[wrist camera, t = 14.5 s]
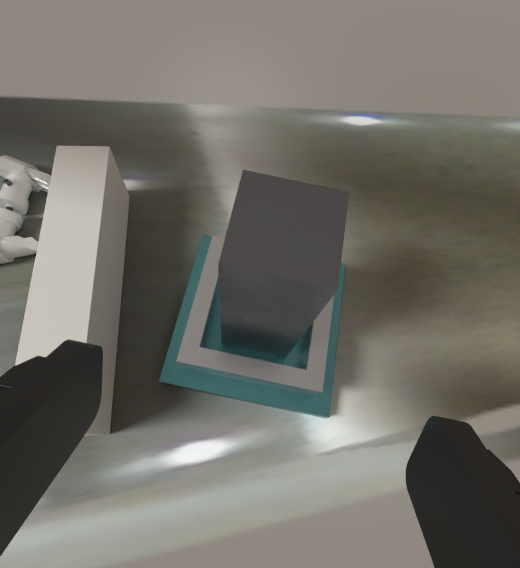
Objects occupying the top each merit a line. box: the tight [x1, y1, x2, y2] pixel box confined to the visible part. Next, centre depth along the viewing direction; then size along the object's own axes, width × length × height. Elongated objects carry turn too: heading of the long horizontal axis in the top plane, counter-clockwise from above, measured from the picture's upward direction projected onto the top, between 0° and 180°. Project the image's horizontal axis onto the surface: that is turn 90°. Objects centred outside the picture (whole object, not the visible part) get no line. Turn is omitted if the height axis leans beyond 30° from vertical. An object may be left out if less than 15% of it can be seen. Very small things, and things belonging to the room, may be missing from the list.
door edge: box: [15, 146, 130, 436], centre depth 21 cm, size 16×3×5 cm, turn 4°
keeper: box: [159, 235, 345, 418], centre depth 22 cm, size 10×10×3 cm
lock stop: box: [218, 170, 349, 357], centre depth 18 cm, size 4×4×11 cm
